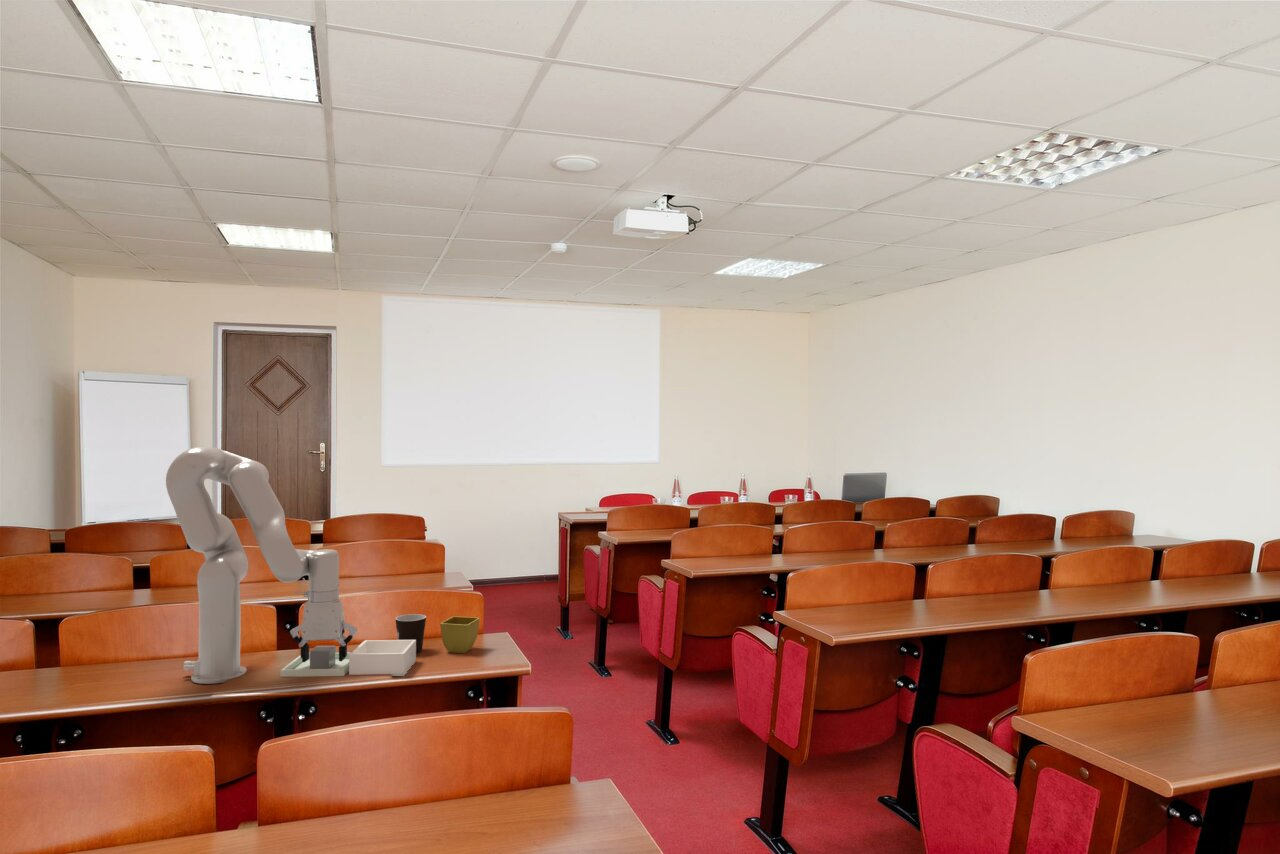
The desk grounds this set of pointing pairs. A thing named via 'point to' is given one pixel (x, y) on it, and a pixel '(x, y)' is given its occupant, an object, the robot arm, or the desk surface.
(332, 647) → the stone cube
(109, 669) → the desk surface
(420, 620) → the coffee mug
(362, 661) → the bin
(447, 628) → the flower pot
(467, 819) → the desk surface
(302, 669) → the tray
